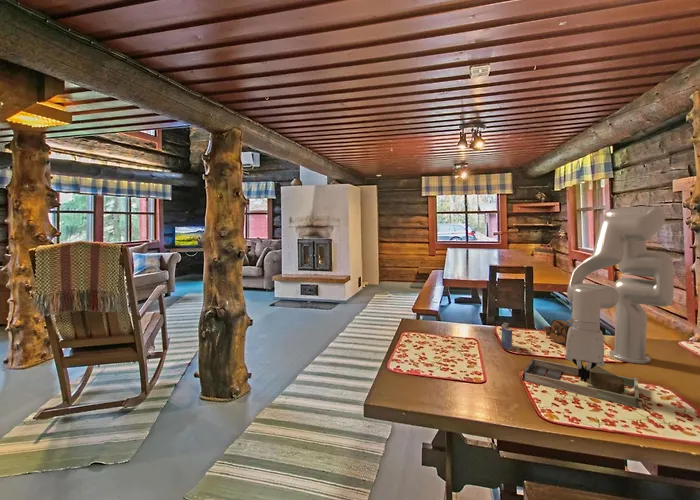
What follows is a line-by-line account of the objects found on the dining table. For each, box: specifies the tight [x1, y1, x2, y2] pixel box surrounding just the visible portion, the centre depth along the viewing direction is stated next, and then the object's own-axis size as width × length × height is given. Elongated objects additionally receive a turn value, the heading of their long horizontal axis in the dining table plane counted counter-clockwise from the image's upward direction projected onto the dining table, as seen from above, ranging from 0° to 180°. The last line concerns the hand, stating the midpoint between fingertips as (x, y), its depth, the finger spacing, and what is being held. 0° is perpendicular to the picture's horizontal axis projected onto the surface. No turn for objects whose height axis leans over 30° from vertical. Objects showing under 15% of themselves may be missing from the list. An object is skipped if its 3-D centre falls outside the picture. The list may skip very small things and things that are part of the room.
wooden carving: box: [544, 319, 572, 345], centre depth 156 cm, size 16×5×10 cm, turn 10°
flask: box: [500, 322, 513, 351], centre depth 151 cm, size 9×3×11 cm, turn 172°
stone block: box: [585, 366, 626, 394], centre depth 112 cm, size 6×12×5 cm, turn 4°
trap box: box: [521, 358, 640, 408], centre depth 115 cm, size 16×31×3 cm, turn 51°
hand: (583, 379), depth 114 cm, fingers closed
